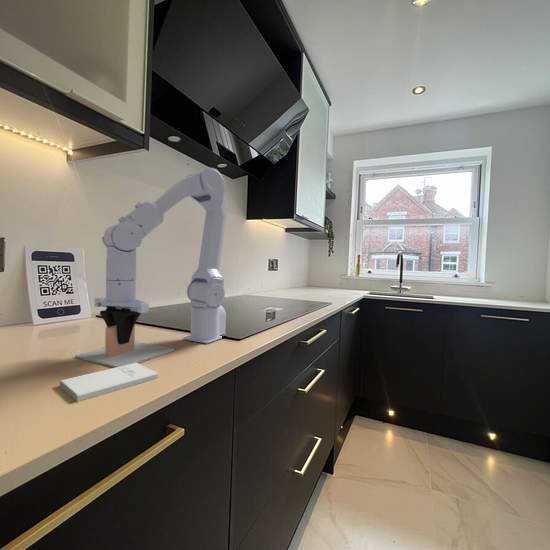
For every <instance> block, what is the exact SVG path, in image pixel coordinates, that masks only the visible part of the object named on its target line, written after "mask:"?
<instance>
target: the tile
mask: <svg viewBox="0 0 550 550" xmlns="http://www.w3.org/2000/svg"><path fill="white" fill-rule="evenodd" d="M135 329H136V324H135V325H134V327H133V330H132V333H131V336H130V340H129V342H128V343H125V344H119V343H118V338H117V327H116V326H111V327H107V326H106V327H105V332H104V333H105V334H104V335H105V336H104V337H105V340H104V341H105V342H104V343H105V344H104V346H105V347H104V348H105V355H106V356H108V357H111V356H115V355H118V354H122V353H125V352H128V351H132V350H134V344H135V341H136V340H135V336H136V335H135V334H136V333H135V331H136V330H135Z"/></svg>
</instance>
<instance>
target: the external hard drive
mask: <svg viewBox="0 0 550 550" xmlns="http://www.w3.org/2000/svg"><path fill="white" fill-rule="evenodd" d="M158 376H159V375H158V372H157V371H154V370H153V369H151V368H148V367H147V366H145V365H142V364H141V363H133V364H129V365H125V366H120V367H116V368H113V367H111V368H108V369H105V370H99V371H94V372H92V373H91V372H90V373H87V374H83V375H79V376H74V377H69V378H66V379H61V380H59V387H60V388H61V387H62V388H61V389H63V390H64V391H65V392H66V393H67V394H68V395H69V397H71V396H72V397H73V400H74V401H76V402H77V403H79V402H83V401H86V400H89V399H93V398H97V397H99V396H102V395H107V394H109V393H113V392H116V391H119V390H124V389H126V388H130V387H132V386H137V385H139V384H142V383H147V382H149V381H153V380H156V379H158V378H159V377H158ZM72 397H71V398H72Z"/></svg>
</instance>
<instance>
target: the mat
mask: <svg viewBox="0 0 550 550" xmlns="http://www.w3.org/2000/svg"><path fill="white" fill-rule="evenodd" d="M175 351H176V348H171V347H167V346H161V345H157V344H154V343H153V344H152V343H147V342H141V341H138V340H137V341H136V340H135V344H134V350H132V351H128V352H125V353H122V354H118V355H115V356H111V357H108V356H106V355H105V347H102V348H99V349H94V350H91V351H87V352H83V353H80V354H74V358H76V359H79V360H80V359H81V360H83V361H88V362H91V363H95V364H98V365H99V364H100V365H102V366H107V367H110V368H116V367H120V366H125V365H129V364H133V363H139V364H141V363H144V362H147V361H149V360H152V359H155V358H159V357H162V356H164V355H167V354H170V353H172V352H175Z"/></svg>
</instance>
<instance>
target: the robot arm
mask: <svg viewBox="0 0 550 550" xmlns="http://www.w3.org/2000/svg"><path fill="white" fill-rule="evenodd" d="M226 185H227V182H226V180H225V179H224V177H223V175H222V174H221V173H220V171H219V170H218V169H217V168H214V167H207V168H205V169H204V170H201V171H198V172H195V173H190V174H188V175H187V176H186V177H184V178H182V179H180V180H178V181H177V182H176V183H175V184H173V185H172V186H171V187H170V188H169V189H168V190H166V191H165V192H164V193H163V194H161V196H159V197H158V198H157V199H156V200H154V202H149V201H144V202H138V203H136V204H134V210H132V211H131V212H130V213H127V215H125V217H124V216H120V217H119V218H118V219H117V220H118V224H113V225H110V226H108V227H107V228H106V229H105V231H104V234H103V236H102V237H101V238H102V239H101V240H102V243H103V245H104V246H105V247H106V258H105V259H106V260H105V263H106V264H105V266H106V267H105V268H106V269H105V271H106V272H105V276H106V277H105V296H102V297H95V298H94V307H96V308H99V307H101V308H105V309H104V310H100V311H99V315H100V316H101V317H102V319H103V322H104V323H105V325H106V327H111V326H116V327H117V338H118V343H119V344H125V343H128V342H129V340H130V336H131V333H132V330H133V327H134V325H135V326H136V322H137V321H138V319H139V318H140V316H141V314H144V313H148V312H150V310H149V309H150V303H149V302H146V301H142V300H138V299H136V297H137V296H136V293H137V291H136V289H137V287H136V286H137V283H136V282H137V279H136V278H137V248H140V246H141V244H142V241H143V240H142V239H144V238H145V237H146V236H148V235H150V233H152V232H153V231H154V230H155V229H156V228H158V227H159V226H160V225H161V224H162V223H163V222H164V214H165V213H166V212H168V211H170V210H171V209H172V208H173V207H174V206H177V204H178V203H180V202H181V201H183V200H184V199H185V198H188V197H190V198H192V199H193V200H194V201H195V202H196V203H197V204H199V205H200V206H201V207H202V208H203V209H204V211H205V218H204V225H203V231H202V237H201V238H202V239H201V246H200V252H199V259H198V265H197V266H198V267H197V269H196V271H194V272H193V274H191V275H192V276H191V280H190V282H189V284H188V286H187V288H186V296H187V298H188V300H189V301H190V305H191V309H190V310H191V314H190V317H191V318H190V320H191V321H190V335H188V336H184V337H183V340H184V341H191V342H196V343H201V344H202V343H203V344H210V343H212V342H213V343H214V342H216V341H219V340H221V339H223V338H222V336H220V335H222V334H226V321H227V319H226V318H227V313H226V310H225V308H224V307H223V306H222V305H221V304H222V303H223V301H224V300H225V296H226V290H225V286H224V284H225V283H224V282H225V278H224V277H223V275H222V274H221V272H220V270H219V269H220V263H221V256H222V249H223V242H224V236H225V228H226V222H227V215H228V214H227V213H228V203H227V198H226V187H227V186H226Z"/></svg>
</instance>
